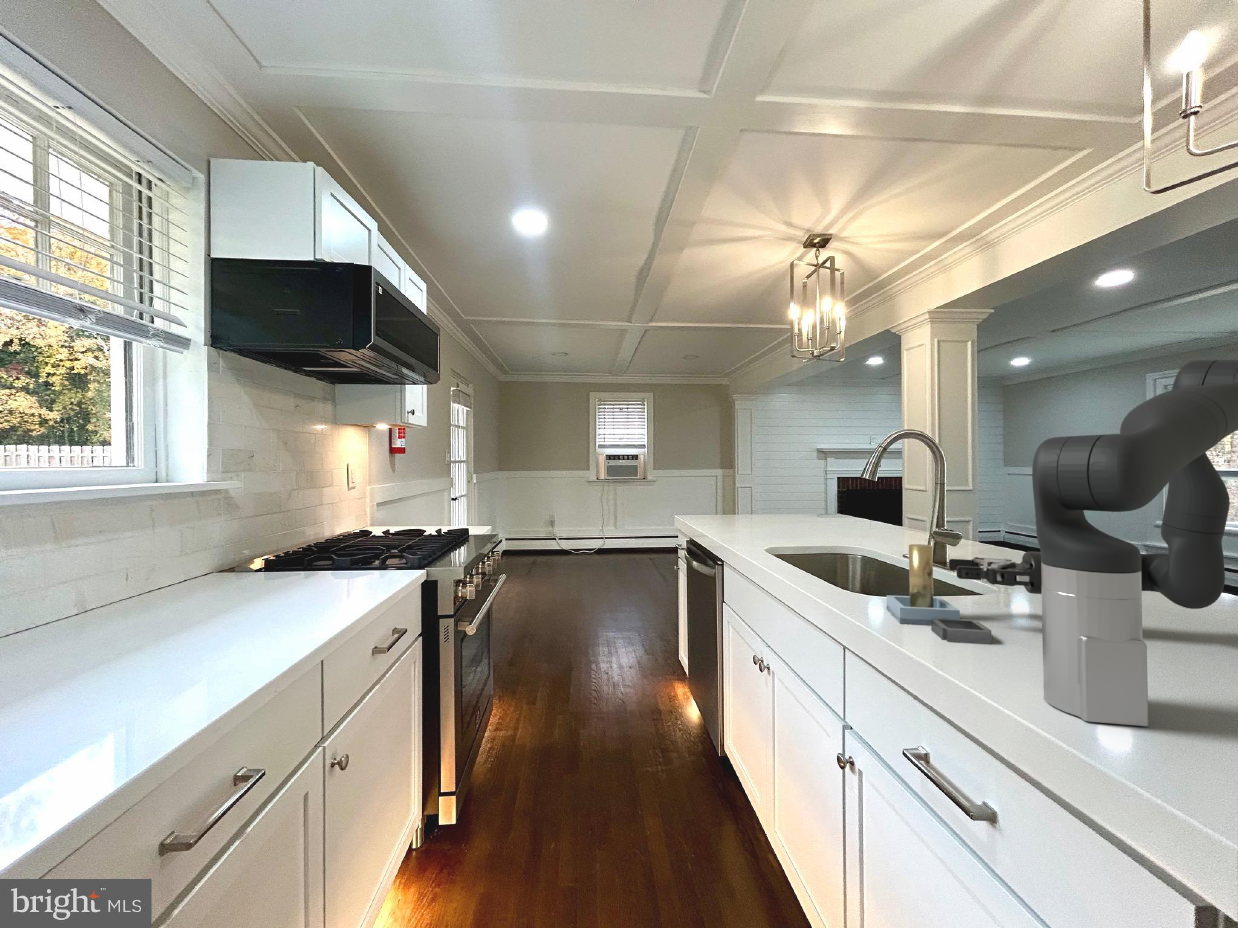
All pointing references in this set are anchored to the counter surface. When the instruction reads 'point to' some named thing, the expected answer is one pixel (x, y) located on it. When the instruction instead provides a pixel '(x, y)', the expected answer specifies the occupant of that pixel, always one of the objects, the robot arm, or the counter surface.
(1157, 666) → the counter surface
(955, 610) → the tray
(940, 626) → the grey square holder
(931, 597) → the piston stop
